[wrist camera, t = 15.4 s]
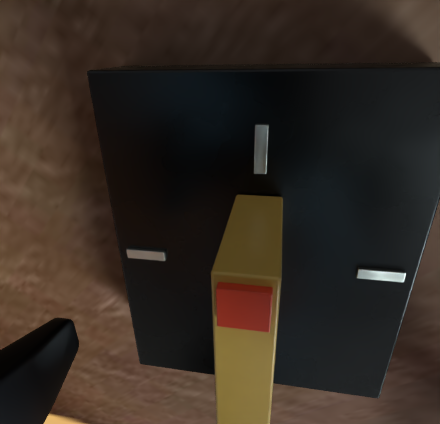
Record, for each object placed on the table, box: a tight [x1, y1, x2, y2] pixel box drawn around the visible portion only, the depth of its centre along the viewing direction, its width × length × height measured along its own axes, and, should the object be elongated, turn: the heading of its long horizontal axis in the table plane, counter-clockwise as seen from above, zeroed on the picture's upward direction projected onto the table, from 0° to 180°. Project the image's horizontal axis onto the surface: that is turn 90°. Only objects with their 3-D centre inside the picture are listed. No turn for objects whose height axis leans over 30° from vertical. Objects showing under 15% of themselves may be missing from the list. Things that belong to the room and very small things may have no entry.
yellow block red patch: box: [211, 195, 283, 424], centre depth 9 cm, size 5×1×4 cm, turn 1°
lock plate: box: [87, 62, 440, 398], centre depth 12 cm, size 12×10×3 cm
